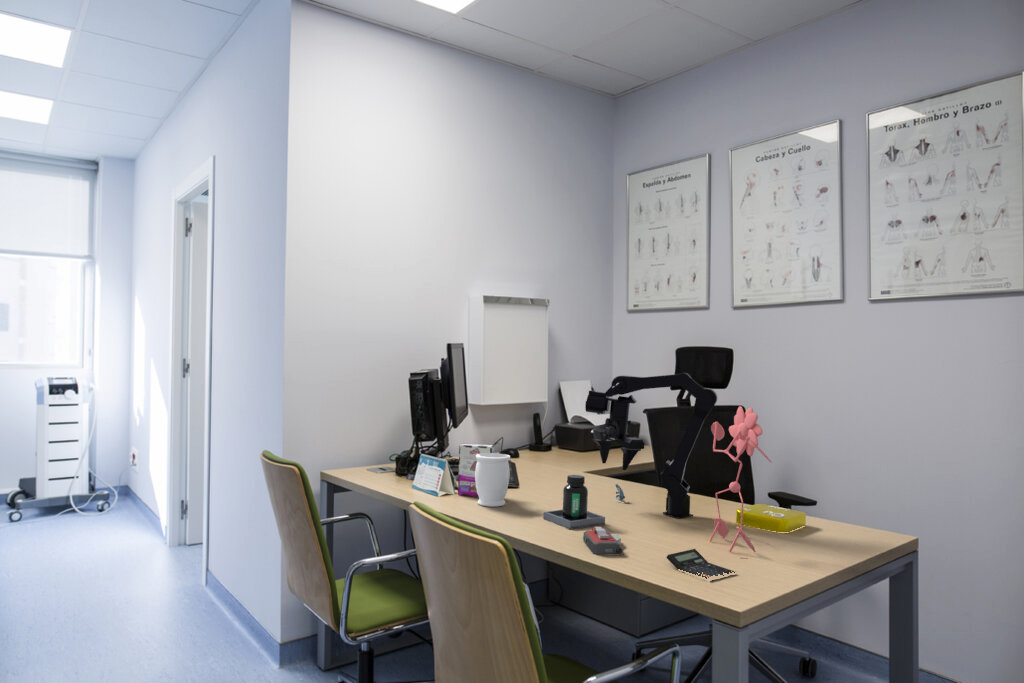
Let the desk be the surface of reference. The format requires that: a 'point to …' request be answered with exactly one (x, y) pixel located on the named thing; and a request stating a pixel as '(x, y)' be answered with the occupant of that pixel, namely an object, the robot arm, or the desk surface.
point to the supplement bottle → (575, 498)
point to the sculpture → (620, 494)
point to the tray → (558, 519)
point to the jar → (492, 478)
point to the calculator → (695, 564)
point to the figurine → (743, 439)
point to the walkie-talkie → (602, 541)
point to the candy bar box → (470, 467)
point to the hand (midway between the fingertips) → (613, 466)
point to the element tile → (771, 518)
